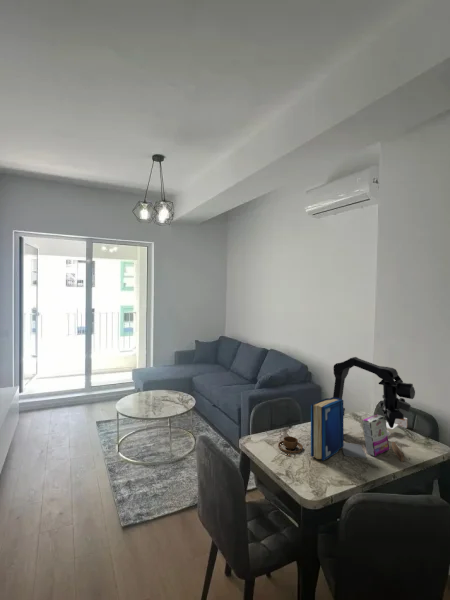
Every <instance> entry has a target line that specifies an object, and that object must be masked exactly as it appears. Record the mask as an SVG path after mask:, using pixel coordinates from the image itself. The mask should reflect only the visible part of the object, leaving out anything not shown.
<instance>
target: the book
mask: <svg viewBox="0 0 450 600" xmlns="http://www.w3.org/2000/svg"><path fill="white" fill-rule="evenodd" d="M343 408H344V400H343V398H342V399H340V398H334V397H333V396H332V397H330V398H323V399H320V400H318V401H316V402H313V403H311V404H310V456H311V458H313V457H314V458H315V459H317V460H321V461H323V462H324V461H326V460H327V459H329V458H330V457H332V456H334V455H336V454H337V453H339V451H340V450H341V449H342V447H343V446H344V443H345V442H344V440H345V439H344V416H343Z"/></svg>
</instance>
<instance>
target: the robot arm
mask: <svg viewBox="0 0 450 600" xmlns="http://www.w3.org/2000/svg"><path fill="white" fill-rule="evenodd" d="M332 367H333V368H332V369H333V376H334V378H335V379H334V386H333V387H334V388H333V395H332V397H334V398H340V399H342V400H343V396H344V395H343V394H344V389H345V380H346V378H347V376H348V375H349V371H350V369H352V368H353V367H355V368H358V369H361V370H364V371H367V372H370V373H372V374H375V375H376V376H377V377H378V378H379V379H381V381H379V382H378V385H380V386H381V385H382V387H383V388H382V390H383V394H382V395H381V396H382V399H383V400H380V401H378V406H379V408H382V407H383V409H382V410H381V412H382V413H383V416H385V420H386V422H388V424H389V426H390V428H393V426H394V423H395V419H404V418H405V416H404V413H403V412H402V411H400V410H404V411H406V412H409V411H410V409H411V406H412V405H411V404H410V403H409V402H407V401H406V399H410V400H413V399H414V398H415V396H416V390H415V387H414V385H413V383H410V382H409V383H406V382H404V381H403V379H402V378H401V377H400V375H399V372H398V371H397V369H395V368H393V367H390V366H383V365H377V364H374V363H372V362H369V361H367V360H364V359H362V358H359V357H357V356H352V357H350V358H348V359H347V360H344V361H341V362H338V363H335V364H334V365H333V366H332ZM397 396H398V397H399V398H398V397H397ZM345 411H346V408H345V407H343V417H344V416H345Z"/></svg>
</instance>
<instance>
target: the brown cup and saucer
mask: <svg viewBox="0 0 450 600" xmlns="http://www.w3.org/2000/svg"><path fill="white" fill-rule="evenodd" d="M282 443H284V444H282ZM280 444H282V445H283V446H284V447H285V448H286V449H284V448H282V447H281V446H280ZM277 445H278V448H279V450H280V449H281V450H280V451H281V452H283V451H284V452H283V453H286V452H287V453H286V454H289V455H285V456H286V457H291V456H292V455H291V453H295V454H299V453H301V452H302V451H303V449H304V446H303V445H302V444H301V443H300V442H299V440H298V438H296V437H294V436H289V435H288V436H284V437H283V440H280V441H279V442H278V444H277ZM297 445H298V446H297ZM306 446H309V444H306ZM297 447H299V448H300V449H298V450H295V449H296V448H297Z"/></svg>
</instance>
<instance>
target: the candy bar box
mask: <svg viewBox="0 0 450 600" xmlns="http://www.w3.org/2000/svg"><path fill="white" fill-rule="evenodd" d="M386 422H387V420H386V418H385V416H384V415H382V414H374V415H372V416H369V417H366V418H364V419H362V426H363V428H362V429H363V434H364V435H363V436H364V441H365V451H366V454H368V455H370V456H372V457H377V456H379V455H381V454H383V453H385V452H387V451H389V450H390V446H389V443H390V442H389V435H387V430H388V428H386Z"/></svg>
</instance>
